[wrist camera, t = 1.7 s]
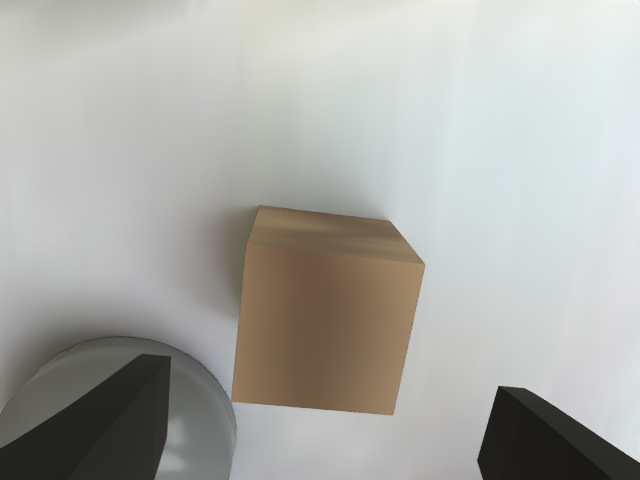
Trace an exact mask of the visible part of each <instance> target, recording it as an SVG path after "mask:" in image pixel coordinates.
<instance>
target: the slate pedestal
mask: <svg viewBox="0 0 640 480" xmlns="http://www.w3.org/2000/svg"><path fill="white" fill-rule="evenodd" d="M140 354H152V355H163V356H171V371H170V391H169V411H168V431H167V440H166V443H165V446H164V450H163V453H162V457H161V460H160V463H159V467H158V470H157V473H156V476H155V479H154V480H229V477H230V471H231V466H232V460H233V454H234V449H235V443H236V429H237V427H236V420H235V415H234V411H233V408H232V405H231V402H230V400H229V398H228V396H227V394H226V392H225V391H224V389H223V388H222V386H221V385H220V383H219V382H218V381H217V380H216V378H215V377H214V376H213V375H212V374H211V373H210V372H209V371H208V370H207V369H206V368H205V367H204V366H203V365H201V364H200V363H199V362H197V361H196V360H194V359H193V358H192V357H190V356H189V355H187V354H185V353H183V352H181V351H179V350H177V349H175V348H173V347H170V346H168V345H165V344H163V343H159V342H155V341H152V340H148V339H141V338H135V337H108V338H100V339H95V340H90V341H86V342H83V343H80V344H77V345H75V346H73V347H70V348H68V349H66V350H64V351H62V352H61V353H59V354H58V355H56V356H55V357H53V358H52V359H51V360H50V361H48V362H47V363H46V364H45V365H44V366H43V367H42V368H41V369H40V370H39V371H38V372H37V373H36V374H35V375H34V376H33V377H32V378H31V379H30V380H29V381H28V382H27V383H26V384H25V385H24V386H23V387H22V388H21V389H20V390H19V392H18V393H17V394H16V395H15V396H14V397H13V398H12V399H11V400H10V401H9V403H8V404H7V405H6V406H5V407H4V409H3V410H2V412H1V414H0V448H2V447H4V446H5V445H7V444H9V443H10V442H12V441H14V440H16V439H17V438H19V437H20V436H22V435H24V434H25V433H27V432H28V431H30V430H31V429H33V428H35V427H36V426H38V425H39V424H41V423H42V422H44V421H45V420H47V419H49V418H50V417H52V416H53V415H55V414H56V413H58V412H60V411H61V410H63V409H64V408H66V407H67V406H69V405H70V404H72V403H73V402H75V401H76V400H77V399H79V398H80V397H82V396H83V395H85V394H86V393H87V392H89V391H90V390H92V389H93V388H95V387H96V386H97V385H99V384H100V383H101V382H103V381H104V380H106V379H107V378H108V377H110V376H111V375H112V374H114V373H115V372H117V371H118V370H119V369H121V368H122V367H123V366H125V365H126V364H128V363H129V362H130V361H132V360H133V359H135V358H136V357H137V356H139V355H140Z"/></svg>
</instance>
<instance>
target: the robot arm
mask: <svg viewBox="0 0 640 480" xmlns="http://www.w3.org/2000/svg"><path fill="white" fill-rule="evenodd" d="M170 371H171V356H163V355H152V354H140V355H139V356H137V357H136V358H135V359H133V360H132V361H130V362H129V363H128V364H126V365H125V366H123V367H122V368H121V369H119V370H118V371H117V372H115V373H114V374H112V375H111V376H110V377H108V378H107V379H106V380H104V381H103V382H101V383H100V384H99V385H97V386H96V387H95V388H93V389H92V390H90V391H89V392H87V393H86V394H85V395H83V396H82V397H80V398H79V399H77V400H76V401H75V402H73V403H72V404H70V405H69V406H67V407H66V408H64V409H63V410H61V411H60V412H58V413H56V414H55V415H53V416H52V417H50V418H49V419H47V420H45V421H44V422H42V423H41V424H39V425H38V426H36V427H35V428H33V429H31V430H30V431H28V432H27V433H25V434H24V435H22V436H20V437H19V438H17V439H16V440H14V441H12V442H10V443H9V444H7V445H5V446H4V447H2V448H0V480H154V479H155V476H156V473H157V470H158V467H159V463H160V460H161V457H162V453H163V450H164V446H165V443H166V440H167V431H168V411H169V391H170ZM477 462H478V465H479V468H480V471H481V475H482V478H483V480H640V463H639V462H638V461H636V460H634V459H633V458H631V457H630V456H628V455H627V454H625V453H624V452H622V451H621V450H619V449H618V448H616V447H615V446H613V445H612V444H610V443H609V442H607V441H606V440H604V439H603V438H601V437H600V436H598V435H597V434H595V433H594V432H592V431H591V430H589V429H588V428H586V427H585V426H583V425H582V424H580V423H579V422H577V421H576V420H575V419H573V418H572V417H570V416H569V415H567V414H566V413H564V412H563V411H561V410H560V409H558V408H557V407H555V406H553V405H552V404H550V403H549V402H547V401H546V400H544V399H542V398H541V397H539V396H538V395H536V394H534V393H532V392H530V391H529V390H527V389H525V388H516V387H505V386H498V389H497V393H496V396H495V400H494V403H493V407H492V410H491V414H490V417H489V421H488V424H487V428H486V431H485V435H484V438H483V442H482V445H481V449H480V452H479V456H478V459H477Z"/></svg>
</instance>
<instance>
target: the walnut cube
mask: <svg viewBox="0 0 640 480" xmlns="http://www.w3.org/2000/svg"><path fill="white" fill-rule="evenodd" d="M424 269H425V263H424V262H423V261H422V260H421V259H420V257H419V256H418V255H417V254H416V252H415V251H414V250H413V249H412V247H411V246H410V245H409V244H408V242H407V241H406V240H405V239H404V238H403V236H402V235H401V234H400V233H399V231H398V230H397V229H396V228H395V226H394V225H393V224H392V223H391V222H390V221H383V220H375V219H367V218H359V217H351V216H342V215H334V214H326V213H318V212H310V211H302V210H294V209H286V208H277V207H269V206H261V205H260V207H259V210H258V213H257V215H256V218H255V221H254V224H253V226H252V229H251V232H250V235H249V237H248V240H247V243H246V250H245V261H244V271H243V282H242V292H241V302H240V313H239V323H238V334H237V344H236V354H235V365H234V375H233V386H232V396H231V402H242V403H254V404H266V405H277V406H289V407H301V408H313V409H324V410H336V411H348V412H359V413H371V414H383V415H393V413H394V409H395V404H396V399H397V395H398V390H399V385H400V381H401V376H402V371H403V367H404V362H405V357H406V353H407V348H408V343H409V339H410V334H411V329H412V325H413V320H414V315H415V311H416V306H417V301H418V297H419V292H420V287H421V283H422V278H423V273H424Z"/></svg>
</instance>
